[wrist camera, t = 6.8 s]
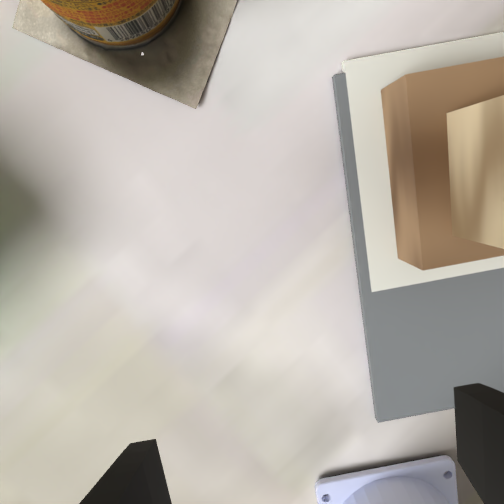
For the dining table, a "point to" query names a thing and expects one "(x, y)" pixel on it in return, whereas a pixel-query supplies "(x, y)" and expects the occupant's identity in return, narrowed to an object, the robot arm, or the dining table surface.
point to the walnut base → (431, 158)
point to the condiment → (136, 38)
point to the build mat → (403, 274)
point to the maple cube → (477, 171)
